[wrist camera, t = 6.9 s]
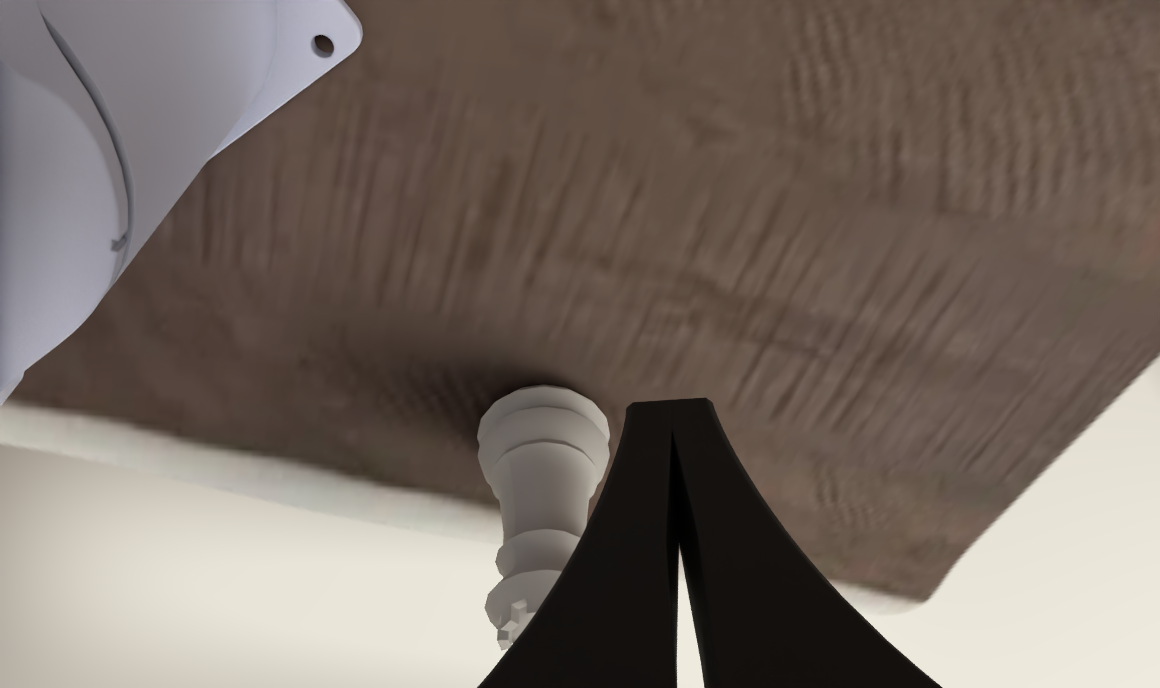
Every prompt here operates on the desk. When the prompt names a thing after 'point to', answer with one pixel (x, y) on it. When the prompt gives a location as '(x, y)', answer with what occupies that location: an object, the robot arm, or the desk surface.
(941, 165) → the desk surface
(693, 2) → the desk surface
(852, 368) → the desk surface
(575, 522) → the rook chess piece
